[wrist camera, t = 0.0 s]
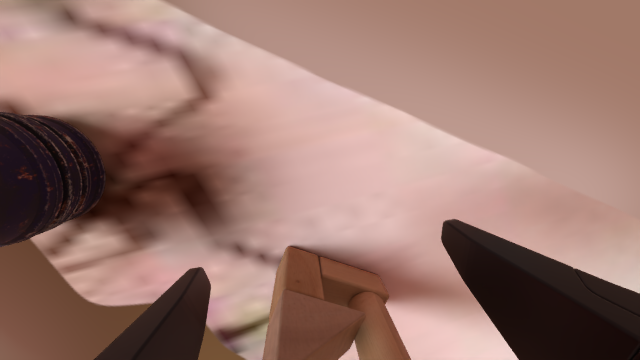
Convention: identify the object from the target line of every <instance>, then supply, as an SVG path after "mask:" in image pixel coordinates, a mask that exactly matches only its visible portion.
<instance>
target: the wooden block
mask: <svg viewBox="0 0 640 360" xmlns="http://www.w3.org/2000/svg"><path fill="white" fill-rule="evenodd" d="M388 298H389V294H388V292H387V290H386V288H385V286H384V285H383V283H382V281H381V279H380V277H379V276H378V275H376V274H373V273H370V272H367V271H364V270H361V269H358V268H355V267H352V266H349V265H346V264H342V263H339V262H336V261H333V260H330V259H327V258H324V257H319V259H318V256H317V255H315V254H312V253H309V252H306V251H303V250H300V249H297V248H294V247H290V246H288V247H287V248H286V250H285V252H284V255H283V257H282V260H281V262H280V265H279V267H278V270H277V272H276V278H275V285H274V291H273V297H272V303H271V309H270V316H269V325H268V329H267V335H266V341H265V347H264V354H263V360H338V359H339V358H340V357H341V356H342V355H343V354H344V353H345V352H347V351H348V350H349V349H350V347H351V345H352V343H353V341H354V340H355V344H356V348H357V352H358V356H359V360H411V358H410V356H409V354H408V352H407V350H406V348H405V346H404V344H403V342H402V340H401V338H400V336H399V333H398V331H397V329H396V327H395V325H394V323H393V321H392V319H391V317H390V315H389V313H388V311H387V309H386V306H385V304H386V302H387V300H388Z"/></svg>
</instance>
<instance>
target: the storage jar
mask: <svg viewBox="0 0 640 360" xmlns="http://www.w3.org/2000/svg"><path fill="white" fill-rule="evenodd" d="M105 181H106V178H105V169H104V164H103V161H102V159H101V156H100V154H99V153H98V151H97V149H96V148H95V146H94V145H93V144H92V142H91V141H90V140H89V139H88V138H87V137H86V136H85V135H84V134H83V133H81V132H80V131H79V130H78V129H76V128H75V127H73V126H71V125H70V124H68V123H66V122H63V121H61V120H58V119H55V118H51V117H47V116H39V115H18V114H14V113H6V112H0V247H2V246H6V245H11V244H14V243H19V242H22V241H24V240H27V239H30V238H31V237H33V236H35V235H38V234H40V233H43V232H45V231H48V230H51V229H53V228H55V227H57V226H59V225H61V224H62V223H64V222H66V221H68V220H71V219H74V218H77V217H79V216H81V215H83V214H85V213H87V212H88V211H90V210H91V209H92V208H93V207H94V206H95V205H96V204H97V203H98V201H99V200H100V198H101V196H102V194H103V191H104V188H105Z"/></svg>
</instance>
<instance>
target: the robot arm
mask: <svg viewBox="0 0 640 360" xmlns="http://www.w3.org/2000/svg"><path fill="white" fill-rule="evenodd" d="M441 240H442V243H443V245H444V247H445V249H446V251H447V253H448V254H449V256H450V258H451V260H452V261H453V263H454V265H455V267H456V269H457V270H458V272H459V274H460V276H461V277H462V279H463V281H464V282H465V284H466V285H467V287H468V288H469V289H470V291H471V292H472V294H473V295H474V297H475V298H476V299H477V301H478V302H479V304H480V305H481V307H482V308H483V309H484V311H485V312H486V314H487V315H488V316H489V318H490V319H491V321H492V322H493V324H494V325H495V326H496V328H497V329H498V331H499V332H500V334H501V335H502V336H503V338H504V339H505V341H506V342H507V344H508V345H509V346H510V348H511V349H512V351H513V352H514V353H515V355H516V356H517V358H518V359H519V360H640V293H637V292H634V291H631V290H629V289H626V288H623V287H621V286H618V285H615V284H613V283H610V282H608V281H605V280H603V279H600V278H598V277H595V276H593V275H590V274H588V273H586V272H583V271H581V270H578V269H573V267H571V266H568V265H566V264H564V263H561V262H559V261H556V260H554V259H551V258H549V257H546V256H544V255H542V254H539V253H537V252H534V251H532V250H529V249H527V248H525V247H522V246H520V245H517V244H515V243H512V242H510V241H508V240H505V239H503V238H500V237H498V236H495V235H493V234H491V233H488V232H486V231H483V230H481V229H478V228H476V227H474V226H471V225H469V224H466V223H464V222H461V221H459V220H456V219H452V220H446V221H444V222H443V227H442V236H441ZM210 291H211V284H210V281H209V279H208V277H207V275H206V273H205V271H204V269H203V268H202V267H198V268H192V269H189V270H188V271H187V272H186V273H185V274H184V275H183V276H182V277H181V278H180V279H178V280H177V281H176V282H175V283H174V284H173V285H172V286H171V287H170V288H169V289H168V290H167V291H166V292H165V293H164V294H163V295H162V296H161V297H159V298H158V299H157V300H156V301H155V302H154V303H153V304H152V305H151V306H150V307H149V308H148V309H147V310H146V311H145V312H144V313H143V314H142V315H140V316H139V317H138V318H137V319H136V320H135V321H134V322H133V323H132V324H131V325H130V326H129V327H128V328H127V329H126V330H125V331H124V332H123V333H121V334H120V335H119V336H118V337H117V338H116V339H115V340H114V341H113V342H112V343H111V344H110V345H109V346H108V347H107V348H106V349H105V350H104V351H103V352H101V353H100V354H99V355H98V356H97V357H96V358H95V359H94V360H198V356H199V352H200V348H201V344H202V340H203V336H204V331H205V325H206V319H207V312H208V305H209V298H210Z"/></svg>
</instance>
